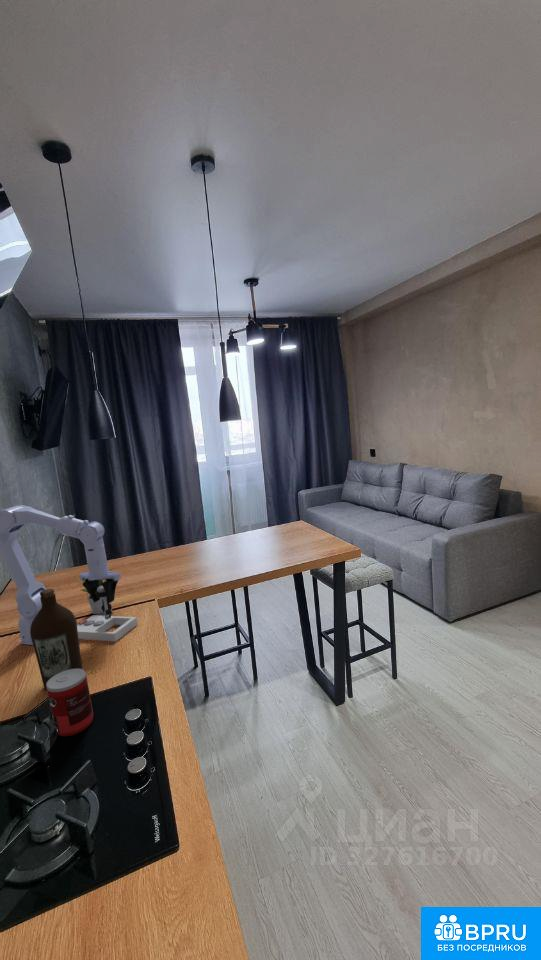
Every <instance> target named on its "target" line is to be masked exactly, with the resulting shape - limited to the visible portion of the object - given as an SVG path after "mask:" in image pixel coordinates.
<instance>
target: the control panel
mask: <svg viewBox="0 0 541 960" xmlns="http://www.w3.org/2000/svg"><path fill="white" fill-rule="evenodd" d="M114 626H119V627H117V628H116V629H115V630H114V631H108V630H110V629H111V628H112V627H114ZM136 626H138V616H137V617H136V616H121V615H120V616H118V615H116V616H115V615H111V618H109V619H108V620H107V619H105V615H99V614H93V615H91V616H90V617H88V618H86V619H82V620H81V621H79V622H78V624H77V630H78V639H79V640H89V641H92V640H93V641H103V642H104V641H105V642H117V641H119V640H120V639H121V638H122V637H124V636H125V635H126V634H128V633H129V632H130V631H132V630H133V629H134V628H135V627H136Z"/></svg>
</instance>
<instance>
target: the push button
mask: <svg viewBox="0 0 541 960" xmlns="http://www.w3.org/2000/svg"><path fill="white" fill-rule="evenodd" d="M95 594H96V596H97V597H99V598H102V604H103V606H101V608H102V611H103V613H101V614H102V615H103V616H105V619H107V620H108V619H109V618H111V616H113V615H114V613H113V609H112V608H113V607H112V603H108V600H107V596H106V592H105V590H104V588H103V586H99V587H98V588H97V590H96V591H95Z"/></svg>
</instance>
